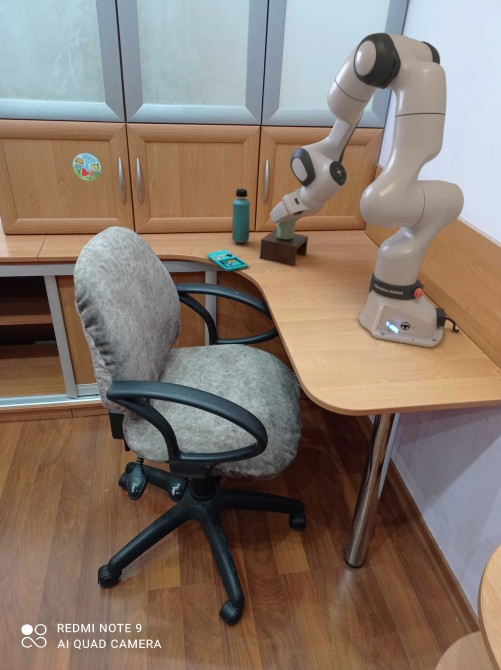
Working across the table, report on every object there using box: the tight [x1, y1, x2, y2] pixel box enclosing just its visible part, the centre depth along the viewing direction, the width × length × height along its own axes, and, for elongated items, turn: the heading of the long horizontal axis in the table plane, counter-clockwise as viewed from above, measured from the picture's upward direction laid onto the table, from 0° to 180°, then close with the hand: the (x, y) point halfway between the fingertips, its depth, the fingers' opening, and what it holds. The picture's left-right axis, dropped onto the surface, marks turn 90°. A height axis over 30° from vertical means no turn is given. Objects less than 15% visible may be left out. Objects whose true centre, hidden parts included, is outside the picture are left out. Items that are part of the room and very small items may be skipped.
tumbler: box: [276, 219, 297, 239], centre depth 164 cm, size 6×6×9 cm
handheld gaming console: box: [207, 249, 248, 272], centre depth 164 cm, size 8×1×15 cm
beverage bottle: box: [231, 188, 251, 243], centre depth 174 cm, size 6×7×20 cm
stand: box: [259, 229, 309, 267], centre depth 168 cm, size 13×12×7 cm
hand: (285, 221), depth 164 cm, fingers closed on tumbler, 6 cm apart
